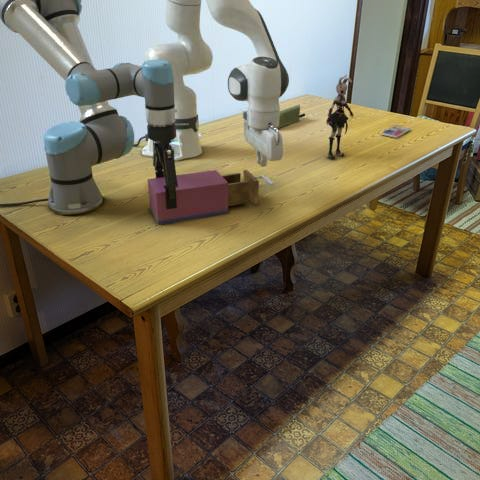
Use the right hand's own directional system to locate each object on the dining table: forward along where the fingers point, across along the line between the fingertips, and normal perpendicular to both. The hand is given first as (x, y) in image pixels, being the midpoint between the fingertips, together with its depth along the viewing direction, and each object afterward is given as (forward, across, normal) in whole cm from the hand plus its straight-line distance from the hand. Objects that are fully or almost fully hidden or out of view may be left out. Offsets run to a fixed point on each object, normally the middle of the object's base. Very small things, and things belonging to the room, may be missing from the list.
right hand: (261, 165), depth 149 cm
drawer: (+10, 0, +10) cm, 14 cm away
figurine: (+11, +26, -41) cm, 50 cm away
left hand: (+7, 0, +29) cm, 30 cm away
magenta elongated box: (+11, 0, +23) cm, 25 cm away
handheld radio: (+12, +69, -44) cm, 83 cm away
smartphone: (+11, +42, -81) cm, 92 cm away
